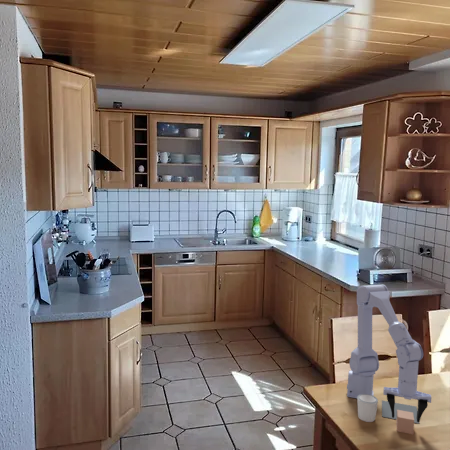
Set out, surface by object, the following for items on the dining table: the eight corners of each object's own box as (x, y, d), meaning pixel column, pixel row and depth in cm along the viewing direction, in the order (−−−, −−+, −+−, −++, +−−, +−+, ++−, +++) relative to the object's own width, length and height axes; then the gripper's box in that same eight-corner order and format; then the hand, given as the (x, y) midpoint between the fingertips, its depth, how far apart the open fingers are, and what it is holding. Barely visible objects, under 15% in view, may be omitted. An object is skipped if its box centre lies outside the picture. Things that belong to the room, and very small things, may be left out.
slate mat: (382, 416, 151) (382, 416, 151) (381, 400, 162) (381, 400, 162) (419, 423, 147) (419, 423, 147) (416, 407, 158) (416, 406, 158)
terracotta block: (396, 431, 142) (397, 417, 142) (396, 423, 147) (397, 409, 146) (413, 434, 140) (414, 420, 140) (412, 426, 145) (413, 412, 145)
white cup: (376, 424, 146) (377, 404, 145) (355, 420, 148) (356, 401, 147) (377, 414, 152) (378, 395, 151) (356, 410, 154) (357, 392, 154)
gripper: (384, 380, 141) (382, 420, 142) (433, 388, 136) (430, 429, 137) (384, 371, 147) (382, 409, 148) (430, 378, 142) (428, 418, 144)
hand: (405, 418), depth 143 cm, fingers open, 7 cm apart
